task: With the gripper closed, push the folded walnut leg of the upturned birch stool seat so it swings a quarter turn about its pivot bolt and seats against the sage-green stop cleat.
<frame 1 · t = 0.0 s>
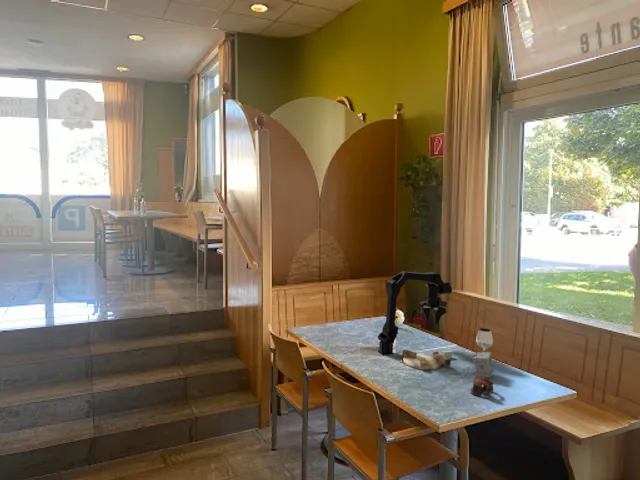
hand: (431, 322, 266), 15 cm above the table, fingers open, 9 cm apart
reddish brown arched figure: (482, 394, 207), on the table
stool seat: (422, 362, 244), on the table
folding leg: (441, 358, 242), point 3 cm above the table, hinge at -90.0°
stop cleat: (446, 358, 252), on the table
wineglass: (483, 364, 244), on the table
incense holder: (482, 375, 229), on the table
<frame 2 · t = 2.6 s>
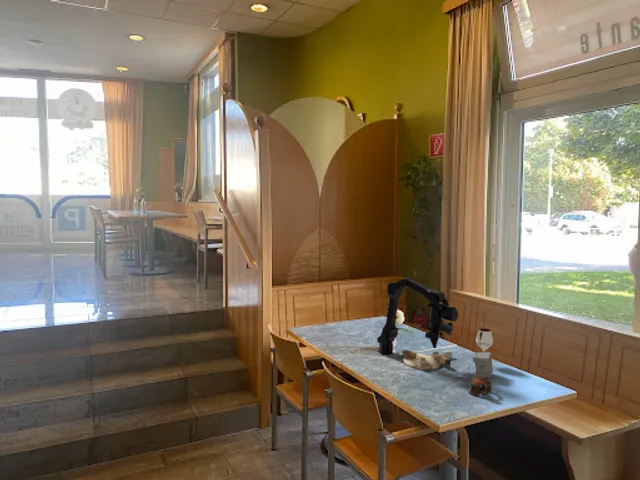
hand: (434, 348, 236), 10 cm above the table, fingers closed
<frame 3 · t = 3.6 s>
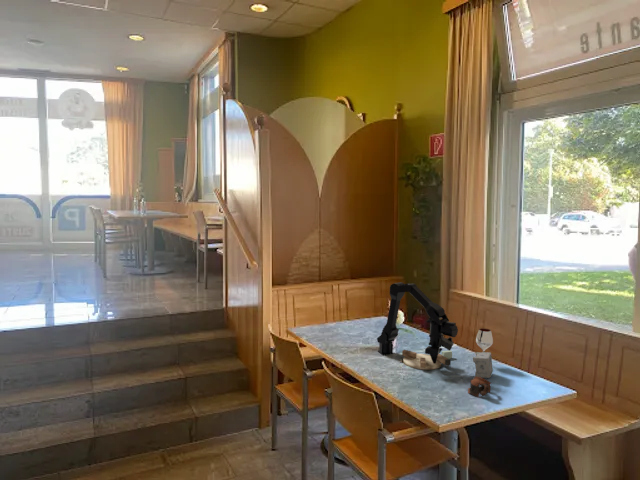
hand: (434, 363, 236), 3 cm above the table, fingers closed
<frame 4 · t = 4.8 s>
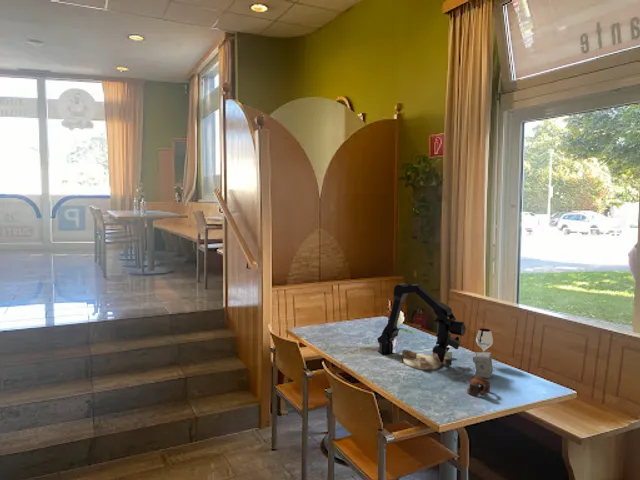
hand: (441, 362, 238), 3 cm above the table, fingers closed
folding leg: (441, 358, 242), point 3 cm above the table, hinge at -86.7°, touching gripper
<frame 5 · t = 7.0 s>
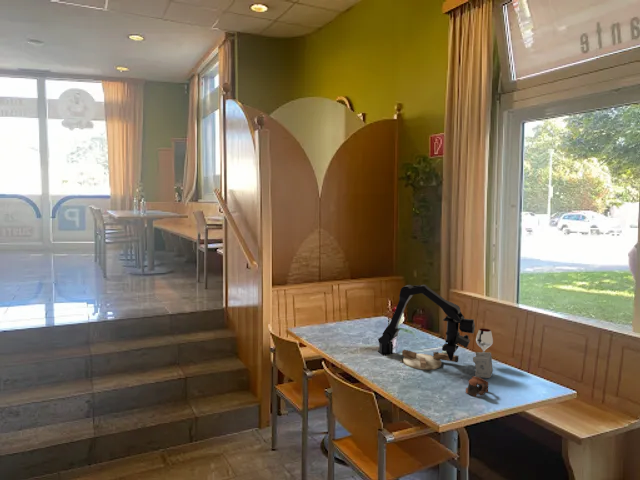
hand: (451, 360, 241), 3 cm above the table, fingers closed
folding leg: (445, 356, 244), point 3 cm above the table, hinge at -45.7°, touching gripper
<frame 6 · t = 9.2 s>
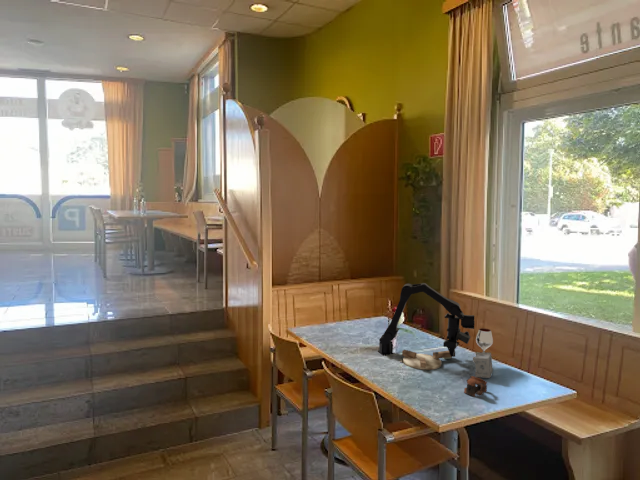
hand: (452, 356, 247), 3 cm above the table, fingers closed
folding leg: (443, 354, 248), point 3 cm above the table, hinge at 1.0°, touching gripper, stop cleat
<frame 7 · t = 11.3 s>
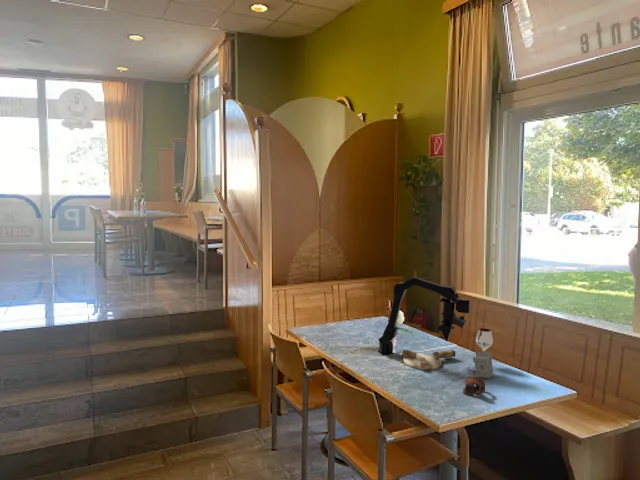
hand: (446, 340, 244), 12 cm above the table, fingers closed
folding leg: (443, 354, 248), point 3 cm above the table, hinge at 1.0°, touching stop cleat
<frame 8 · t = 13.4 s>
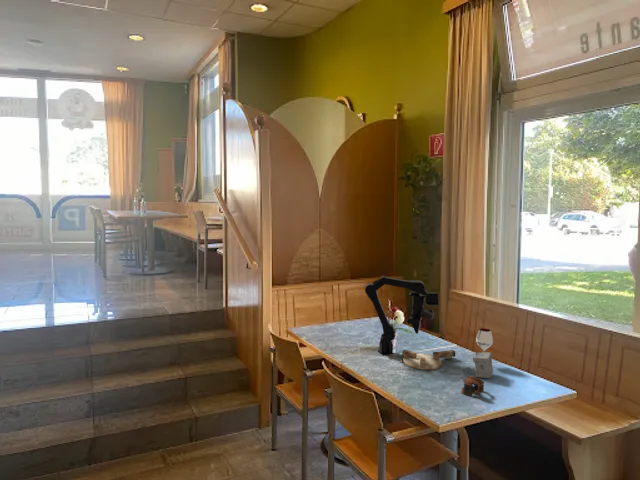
hand: (416, 333, 254), 12 cm above the table, fingers closed
at the end: folding leg at +1° (first picture: -90°); the gripper is holding nothing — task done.
